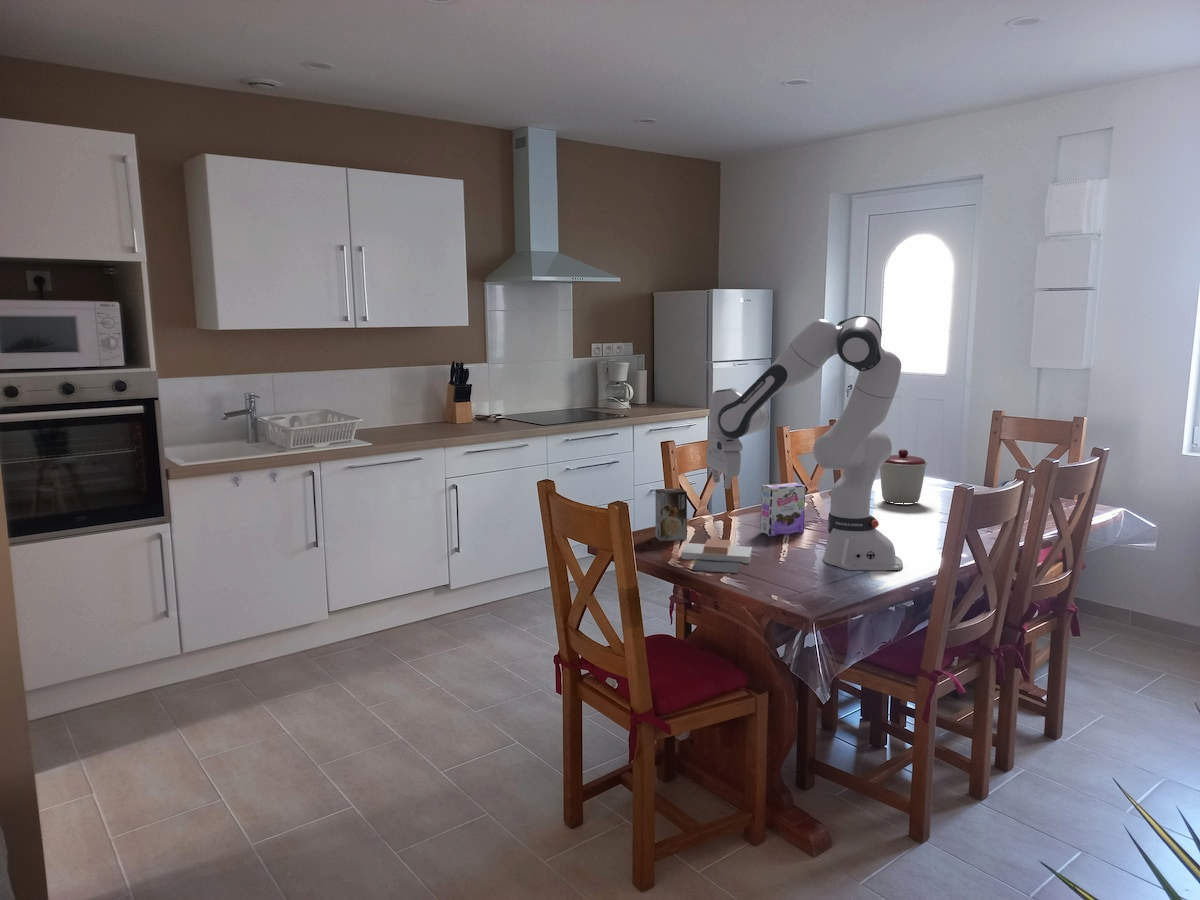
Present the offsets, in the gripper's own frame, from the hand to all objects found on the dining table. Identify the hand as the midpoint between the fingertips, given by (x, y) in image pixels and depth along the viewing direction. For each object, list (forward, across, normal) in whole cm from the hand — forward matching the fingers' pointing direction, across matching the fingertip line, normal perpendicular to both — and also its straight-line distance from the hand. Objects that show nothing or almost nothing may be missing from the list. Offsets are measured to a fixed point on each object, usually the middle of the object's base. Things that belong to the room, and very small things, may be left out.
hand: (721, 485), depth 264 cm
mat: (+20, +20, -8) cm, 29 cm away
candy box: (+20, -13, +27) cm, 36 cm away
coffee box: (+21, -14, -11) cm, 28 cm away
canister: (+20, -47, +92) cm, 105 cm away
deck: (+20, +9, -4) cm, 22 cm away
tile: (+18, +9, -4) cm, 20 cm away
